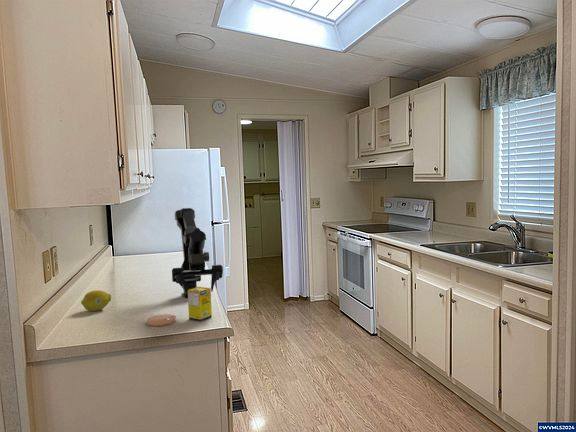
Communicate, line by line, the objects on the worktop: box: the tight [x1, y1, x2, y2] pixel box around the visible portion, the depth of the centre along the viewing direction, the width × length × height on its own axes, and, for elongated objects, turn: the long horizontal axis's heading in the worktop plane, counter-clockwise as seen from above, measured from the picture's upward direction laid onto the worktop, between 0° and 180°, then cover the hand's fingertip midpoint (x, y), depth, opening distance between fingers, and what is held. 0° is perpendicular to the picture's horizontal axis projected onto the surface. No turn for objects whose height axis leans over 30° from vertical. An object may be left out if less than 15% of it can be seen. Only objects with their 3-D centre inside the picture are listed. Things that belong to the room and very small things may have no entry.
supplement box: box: [187, 286, 213, 322], centre depth 153 cm, size 6×6×11 cm
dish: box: [146, 313, 177, 327], centre depth 150 cm, size 10×10×1 cm
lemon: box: [80, 289, 112, 312], centre depth 166 cm, size 11×8×8 cm
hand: (199, 292), depth 154 cm, fingers open, 9 cm apart
